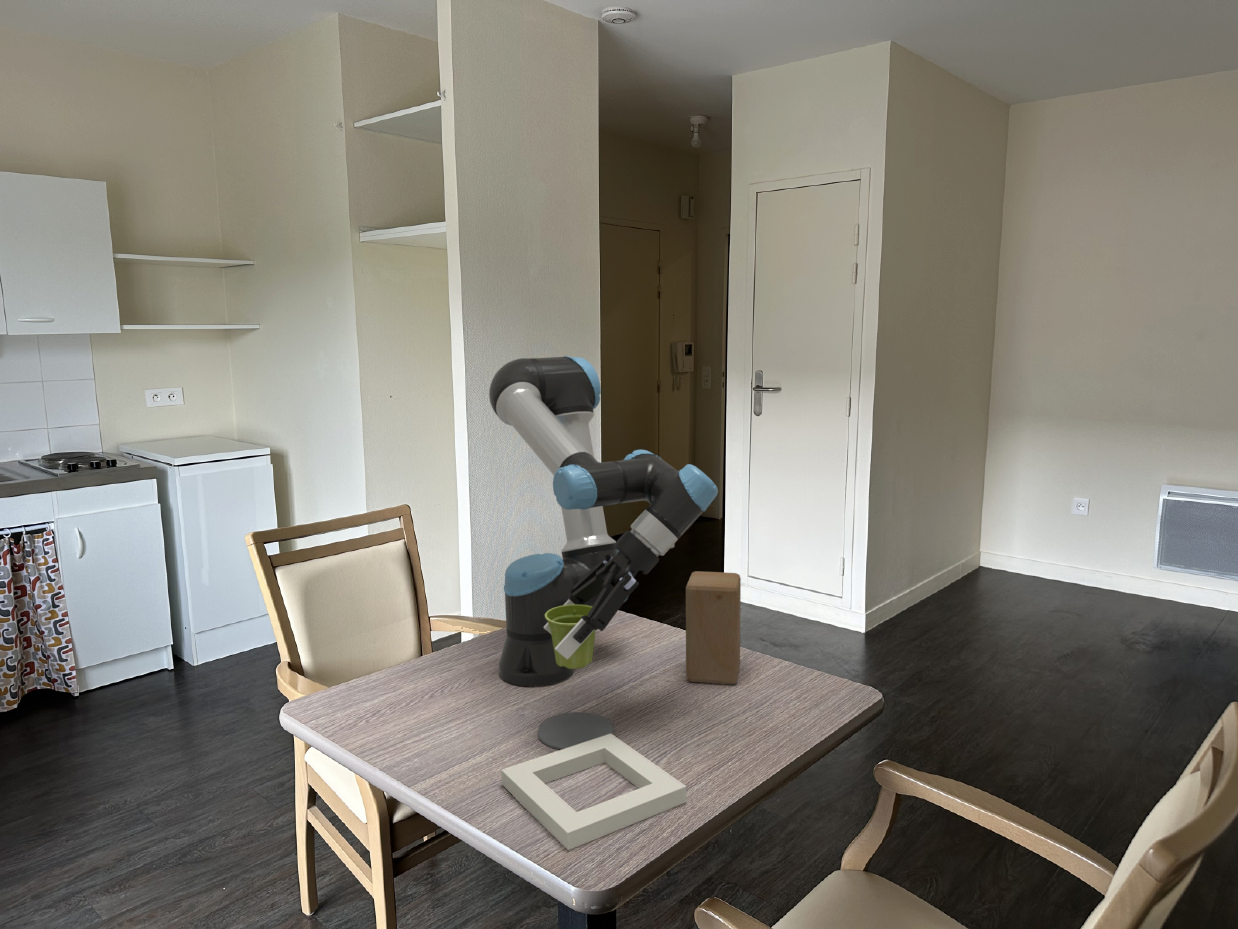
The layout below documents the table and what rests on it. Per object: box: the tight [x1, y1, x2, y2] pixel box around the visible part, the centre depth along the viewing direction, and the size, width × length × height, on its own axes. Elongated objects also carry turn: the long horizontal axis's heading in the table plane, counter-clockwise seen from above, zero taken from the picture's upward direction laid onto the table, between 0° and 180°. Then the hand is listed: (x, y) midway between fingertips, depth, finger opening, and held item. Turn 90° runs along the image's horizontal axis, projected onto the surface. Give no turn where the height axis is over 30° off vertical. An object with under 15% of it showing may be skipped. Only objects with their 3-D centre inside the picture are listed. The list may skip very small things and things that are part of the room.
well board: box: [500, 734, 687, 851], centre depth 126 cm, size 20×20×2 cm
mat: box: [537, 711, 615, 751], centre depth 145 cm, size 13×13×1 cm
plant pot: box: [545, 604, 597, 670], centre depth 142 cm, size 9×9×9 cm
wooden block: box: [685, 570, 742, 685], centre depth 167 cm, size 10×10×20 cm
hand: (555, 642), depth 142 cm, fingers closed on plant pot, 9 cm apart
